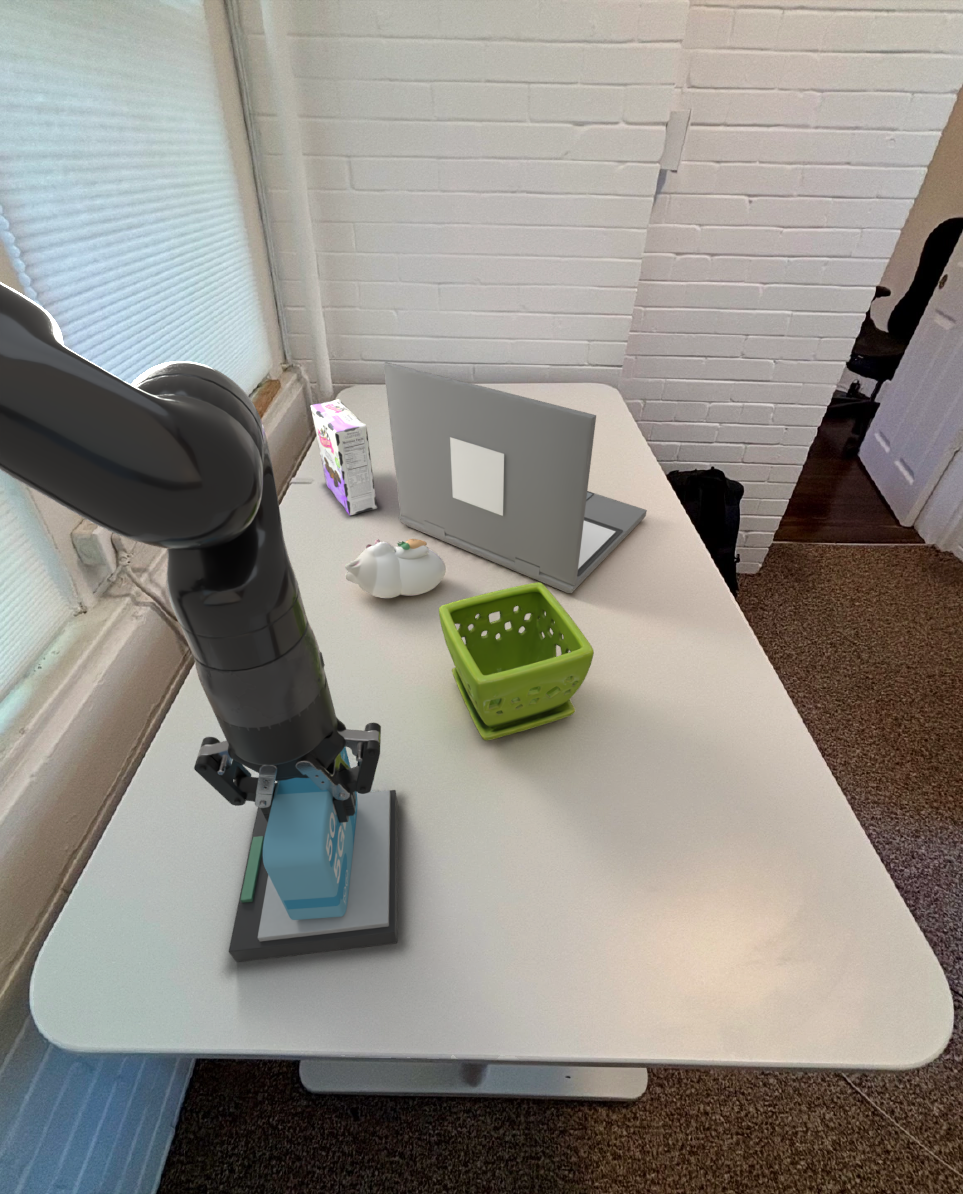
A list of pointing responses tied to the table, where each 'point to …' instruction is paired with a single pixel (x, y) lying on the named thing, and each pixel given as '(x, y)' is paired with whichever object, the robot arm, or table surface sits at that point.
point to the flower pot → (515, 658)
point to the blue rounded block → (309, 849)
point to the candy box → (345, 456)
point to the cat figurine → (396, 569)
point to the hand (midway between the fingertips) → (314, 815)
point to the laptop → (501, 477)
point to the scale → (369, 899)
